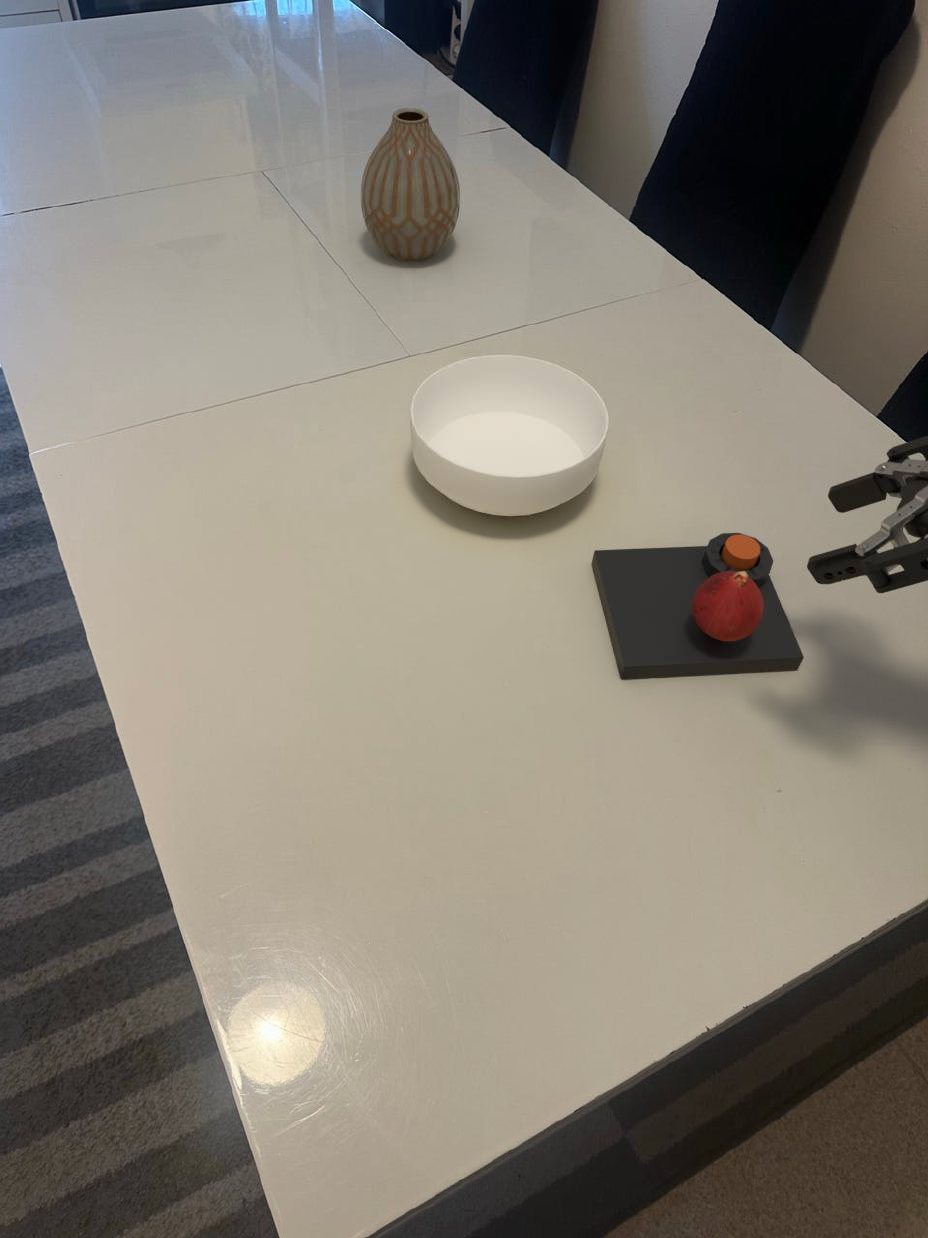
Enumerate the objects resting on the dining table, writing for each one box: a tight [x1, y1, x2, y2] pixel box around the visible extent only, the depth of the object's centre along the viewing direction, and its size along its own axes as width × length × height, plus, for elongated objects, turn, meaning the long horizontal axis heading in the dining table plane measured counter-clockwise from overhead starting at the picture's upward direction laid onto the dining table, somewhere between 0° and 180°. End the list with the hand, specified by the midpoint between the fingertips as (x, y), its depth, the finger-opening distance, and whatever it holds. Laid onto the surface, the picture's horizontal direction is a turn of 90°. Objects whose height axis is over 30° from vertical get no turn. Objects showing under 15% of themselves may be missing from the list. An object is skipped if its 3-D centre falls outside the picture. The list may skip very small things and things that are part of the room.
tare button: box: [722, 534, 760, 570], centre depth 85 cm, size 3×3×2 cm
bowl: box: [409, 354, 610, 517], centre depth 93 cm, size 20×20×8 cm
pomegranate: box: [692, 571, 764, 641], centre depth 78 cm, size 6×6×8 cm
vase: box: [360, 107, 461, 262], centre depth 120 cm, size 13×13×18 cm
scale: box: [591, 532, 805, 680], centre depth 84 cm, size 16×14×4 cm
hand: (823, 535), depth 69 cm, fingers open, 8 cm apart
